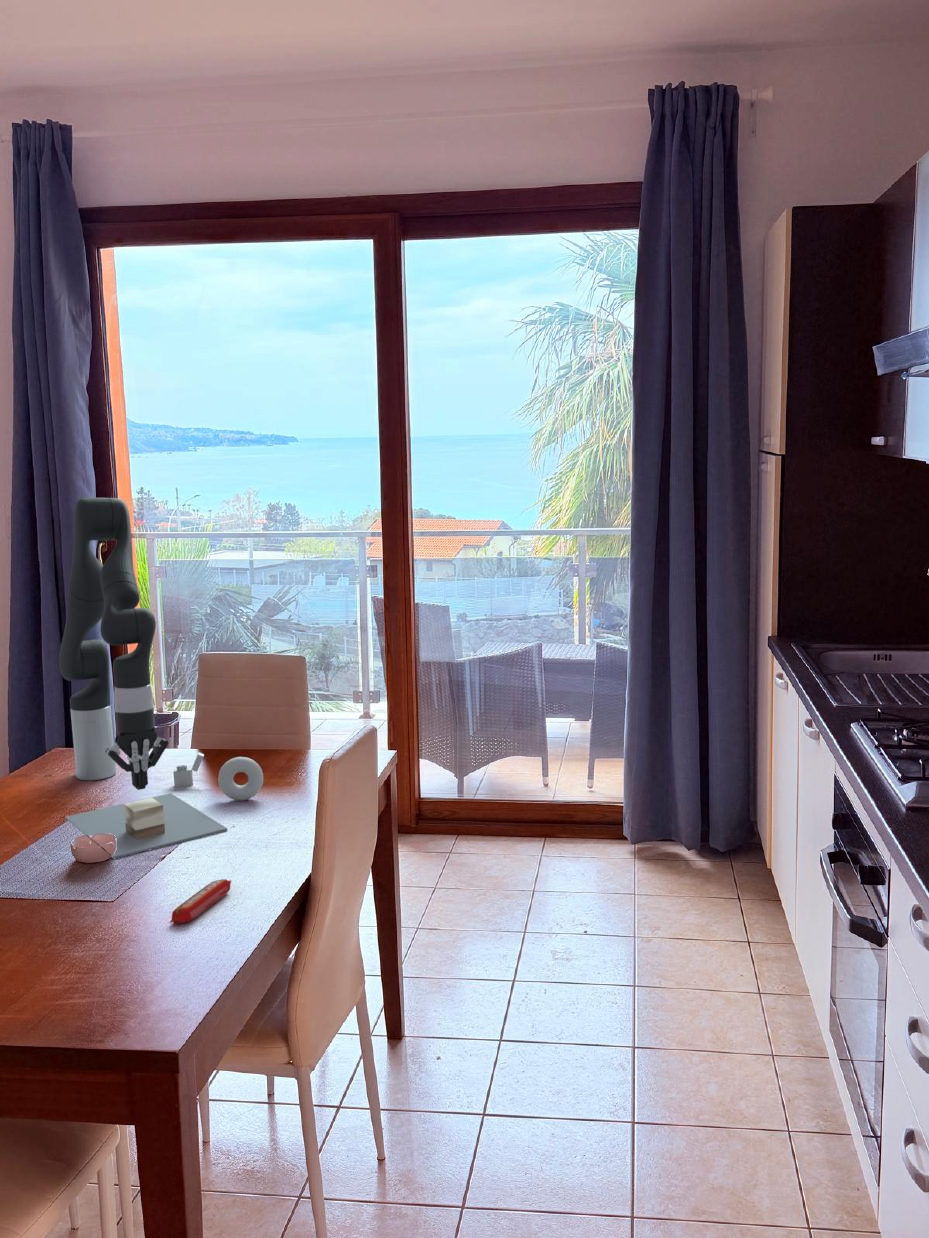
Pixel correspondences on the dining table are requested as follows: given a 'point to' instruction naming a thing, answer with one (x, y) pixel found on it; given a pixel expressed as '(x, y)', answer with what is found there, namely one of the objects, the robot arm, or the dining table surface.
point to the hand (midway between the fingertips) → (140, 788)
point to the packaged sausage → (200, 901)
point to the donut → (236, 790)
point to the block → (144, 818)
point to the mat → (178, 828)
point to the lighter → (186, 773)
